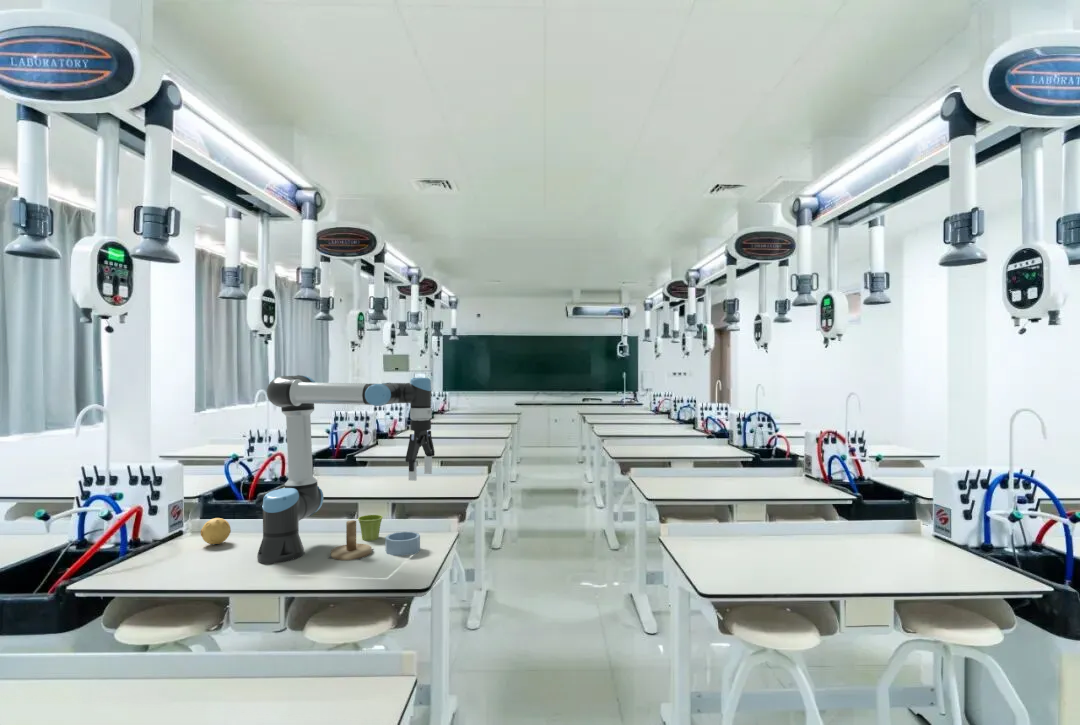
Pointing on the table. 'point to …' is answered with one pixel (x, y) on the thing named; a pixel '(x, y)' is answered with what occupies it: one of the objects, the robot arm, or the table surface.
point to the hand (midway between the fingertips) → (420, 476)
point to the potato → (215, 531)
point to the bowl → (402, 543)
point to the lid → (351, 545)
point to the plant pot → (370, 526)
